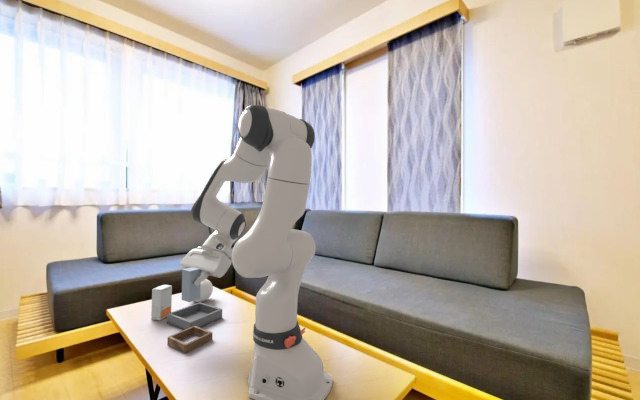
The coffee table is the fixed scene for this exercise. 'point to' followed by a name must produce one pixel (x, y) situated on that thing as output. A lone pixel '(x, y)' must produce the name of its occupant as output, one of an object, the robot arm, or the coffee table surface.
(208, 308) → the charcoal tray
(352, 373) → the coffee table surface
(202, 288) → the ornament
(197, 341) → the walnut holder
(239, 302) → the coffee table surface
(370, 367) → the coffee table surface
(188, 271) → the slate block
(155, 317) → the skincare box
